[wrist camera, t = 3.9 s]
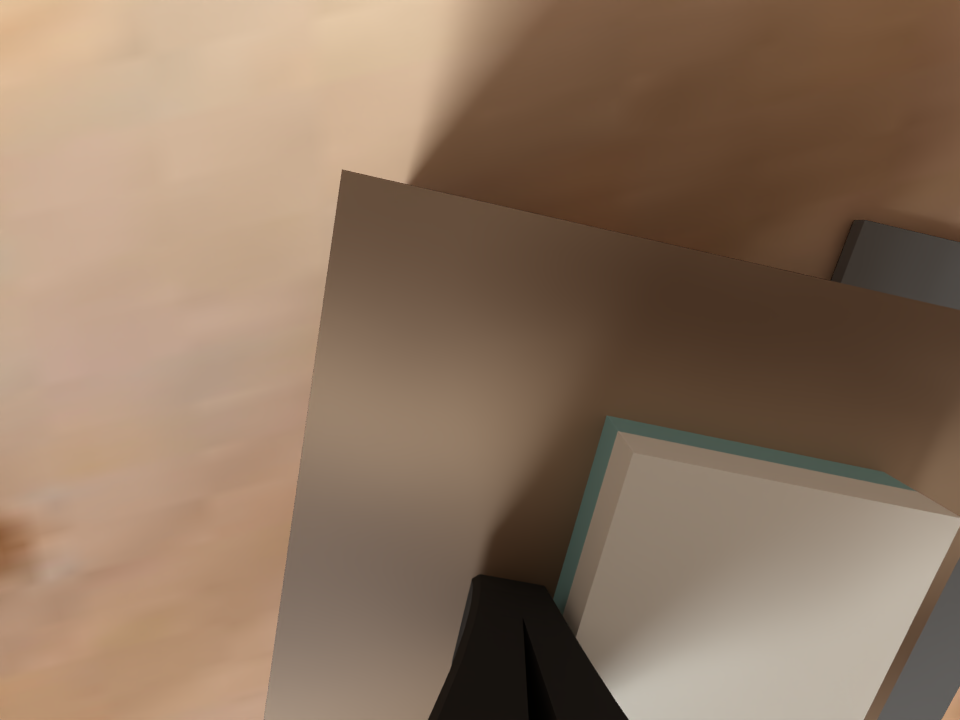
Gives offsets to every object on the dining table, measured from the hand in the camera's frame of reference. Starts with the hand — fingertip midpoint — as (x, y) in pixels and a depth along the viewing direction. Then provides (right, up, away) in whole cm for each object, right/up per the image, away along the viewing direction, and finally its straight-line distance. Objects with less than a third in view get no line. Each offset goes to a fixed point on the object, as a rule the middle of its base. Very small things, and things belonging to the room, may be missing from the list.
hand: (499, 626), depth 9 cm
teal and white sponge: (+3, 0, +1) cm, 4 cm away
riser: (+2, +1, +6) cm, 7 cm away
